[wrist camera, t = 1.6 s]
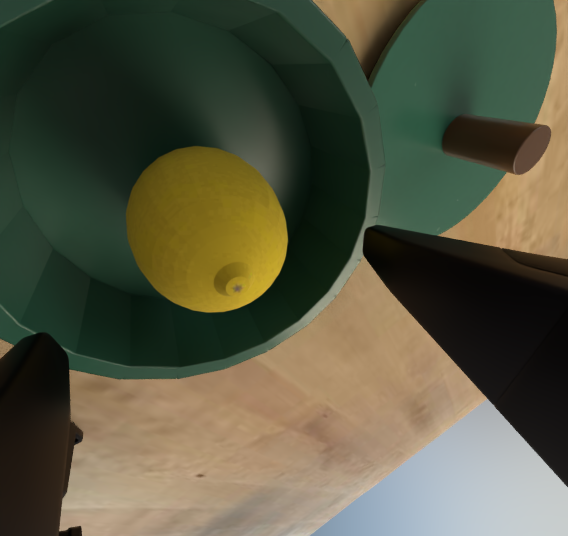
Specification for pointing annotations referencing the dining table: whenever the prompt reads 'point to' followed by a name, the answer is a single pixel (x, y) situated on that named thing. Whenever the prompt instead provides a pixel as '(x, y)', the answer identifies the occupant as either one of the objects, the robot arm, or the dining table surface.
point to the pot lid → (460, 105)
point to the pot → (159, 141)
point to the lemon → (206, 229)
